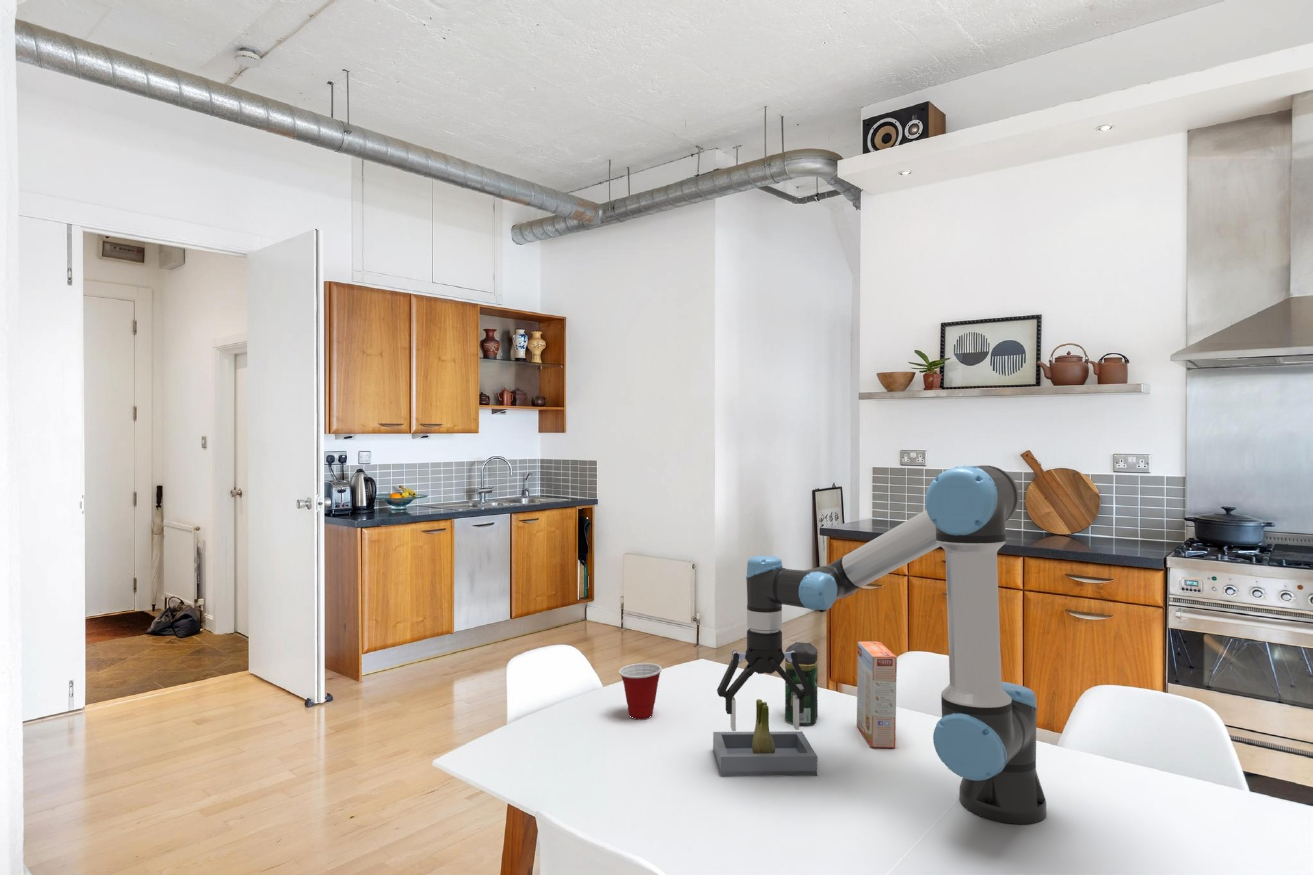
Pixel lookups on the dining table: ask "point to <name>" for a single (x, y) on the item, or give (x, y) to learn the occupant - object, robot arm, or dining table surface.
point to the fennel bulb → (762, 730)
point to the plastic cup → (640, 688)
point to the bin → (764, 755)
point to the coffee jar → (810, 670)
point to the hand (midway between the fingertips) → (764, 728)
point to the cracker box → (876, 694)
